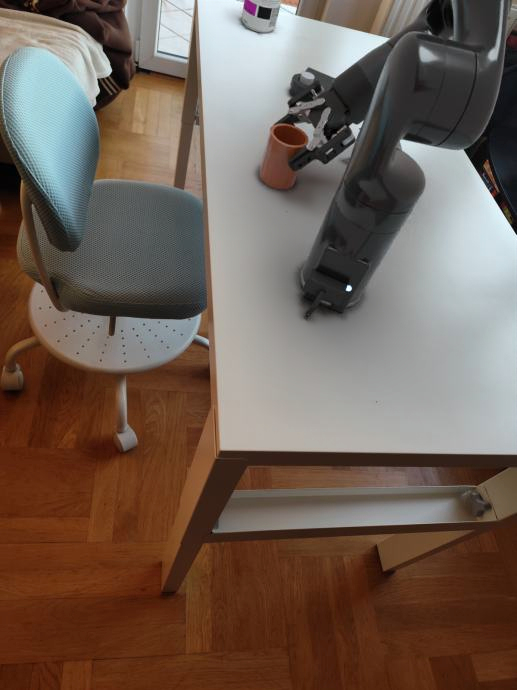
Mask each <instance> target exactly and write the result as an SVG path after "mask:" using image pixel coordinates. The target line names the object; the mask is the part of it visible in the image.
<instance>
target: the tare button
mask: <svg viewBox="0 0 517 690" xmlns="http://www.w3.org/2000/svg"><path fill="white" fill-rule="evenodd" d="M300 73H301V76H300V80H299V82H301V83H302V84H304V85H308V86H309V85H311V84H312V83H313V81H314V78H315V77H314V75H313V74H311V73H309V72H305V71H302V72H300Z"/></svg>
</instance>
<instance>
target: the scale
mask: <svg viewBox="0 0 517 690" xmlns="http://www.w3.org/2000/svg"><path fill="white" fill-rule="evenodd" d="M304 72H309V73H311V74H313V75H314V77H315V78H314V81H313V83H314V82H315V81H317V80H318V81H319V82H320V83H321V85H322V87H323V89H324V91H327V90H329V89H331V87H332V81H333V80H334V79H335V78H336V77H333V76H331V75H328V74H326V73H324V72H321V71H320V70H316V69H314V68H311V67H310V66H307V68H306V70H305V71H304ZM301 73H302V72H300V73H294V74H293V75H292V77H291V81H290V84H289V86H290V88H291V92H290V96H291V97H292V98H293V97H294V96H295V95H297V94H298V93H300V92H301V91H302V90H304V89H305V88H307V87H308V85H304V84H302V83H301V82H299V80H300V76H301ZM302 101H303V102H304V100H302Z"/></svg>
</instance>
